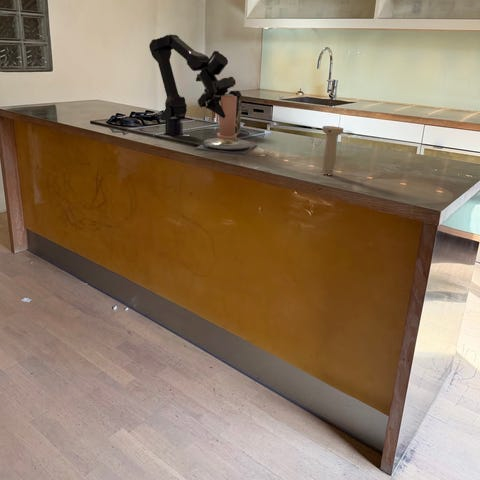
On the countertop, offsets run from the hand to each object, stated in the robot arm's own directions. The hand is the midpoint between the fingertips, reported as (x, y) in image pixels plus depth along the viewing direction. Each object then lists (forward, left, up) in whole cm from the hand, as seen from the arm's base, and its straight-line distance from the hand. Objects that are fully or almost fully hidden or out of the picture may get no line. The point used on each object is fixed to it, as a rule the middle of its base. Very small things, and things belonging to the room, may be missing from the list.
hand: (230, 116), depth 183 cm
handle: (+41, -24, -12) cm, 49 cm away
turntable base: (-1, +1, -12) cm, 12 cm away
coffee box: (-8, +30, -12) cm, 33 cm away
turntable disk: (-1, +1, -12) cm, 12 cm away
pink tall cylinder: (-1, +1, -8) cm, 8 cm away
